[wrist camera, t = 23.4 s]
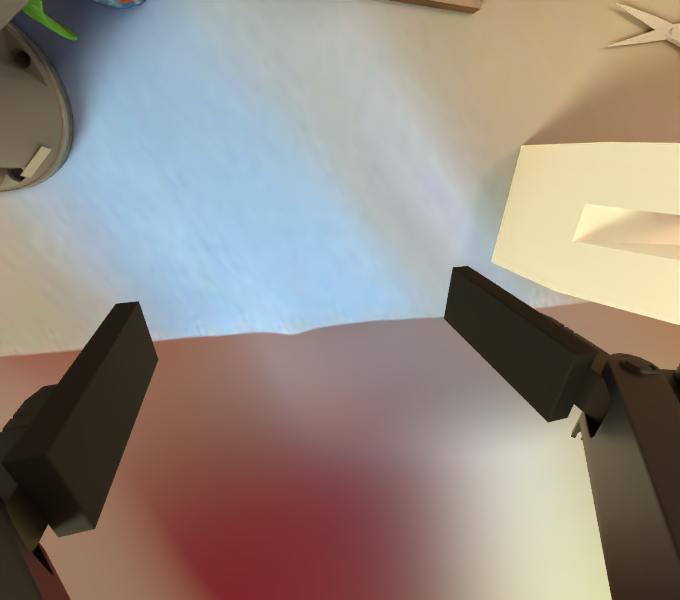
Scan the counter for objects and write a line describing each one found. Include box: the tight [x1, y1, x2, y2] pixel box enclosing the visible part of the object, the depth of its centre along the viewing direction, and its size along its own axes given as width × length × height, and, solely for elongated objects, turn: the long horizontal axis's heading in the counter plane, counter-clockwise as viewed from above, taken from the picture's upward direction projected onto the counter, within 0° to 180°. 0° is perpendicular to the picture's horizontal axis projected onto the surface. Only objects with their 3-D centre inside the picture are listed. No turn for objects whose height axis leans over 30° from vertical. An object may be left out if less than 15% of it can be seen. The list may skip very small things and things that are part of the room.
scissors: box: [607, 3, 680, 47], centre depth 40 cm, size 11×1×20 cm
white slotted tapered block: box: [491, 142, 680, 325], centre depth 36 cm, size 19×15×25 cm
